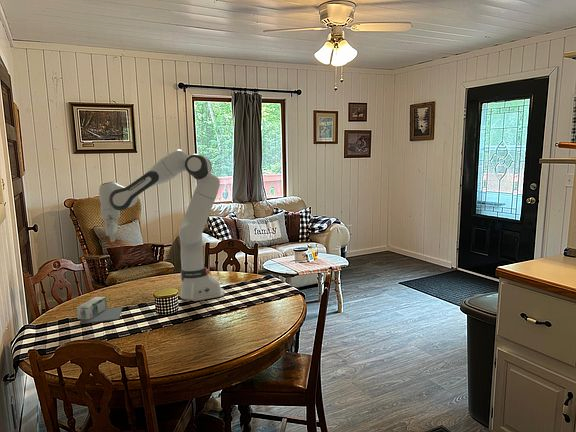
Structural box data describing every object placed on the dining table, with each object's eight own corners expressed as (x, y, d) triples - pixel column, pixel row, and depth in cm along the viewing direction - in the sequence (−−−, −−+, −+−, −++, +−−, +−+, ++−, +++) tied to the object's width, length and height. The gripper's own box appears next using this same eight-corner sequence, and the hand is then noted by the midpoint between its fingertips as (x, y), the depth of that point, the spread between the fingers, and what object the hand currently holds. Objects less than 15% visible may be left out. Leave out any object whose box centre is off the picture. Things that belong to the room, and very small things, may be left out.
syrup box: (107, 308, 202) (89, 319, 187) (96, 308, 202) (76, 319, 188) (106, 296, 201) (87, 307, 187) (95, 296, 202) (75, 307, 188)
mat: (122, 307, 203) (122, 306, 203) (119, 319, 188) (119, 318, 188) (86, 311, 199) (85, 311, 199) (79, 324, 183) (79, 323, 183)
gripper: (114, 216, 204) (117, 244, 206) (119, 211, 224) (121, 237, 226) (100, 217, 203) (103, 245, 204) (106, 212, 222) (108, 238, 224)
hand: (112, 241), depth 215 cm, fingers closed
